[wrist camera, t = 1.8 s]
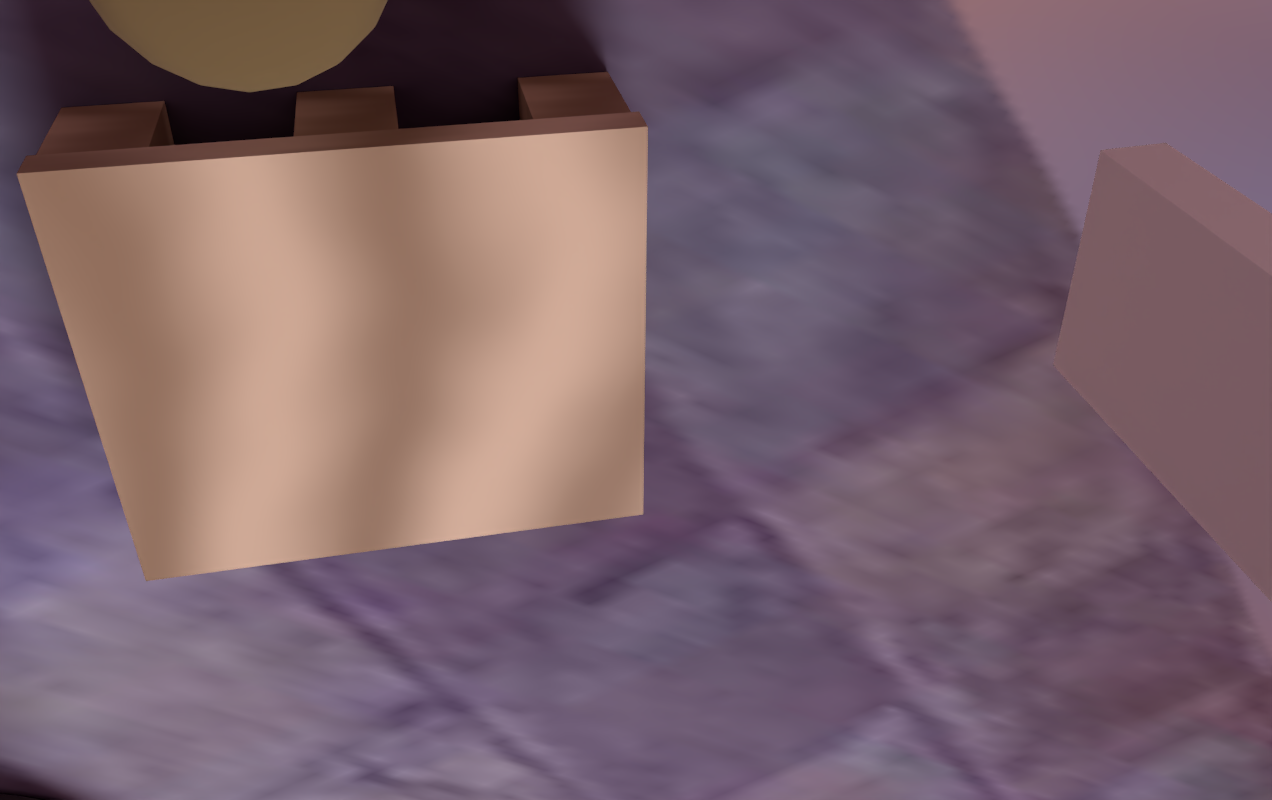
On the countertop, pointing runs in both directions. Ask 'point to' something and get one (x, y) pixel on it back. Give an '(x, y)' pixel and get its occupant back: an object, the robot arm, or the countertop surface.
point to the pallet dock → (355, 320)
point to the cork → (242, 37)
